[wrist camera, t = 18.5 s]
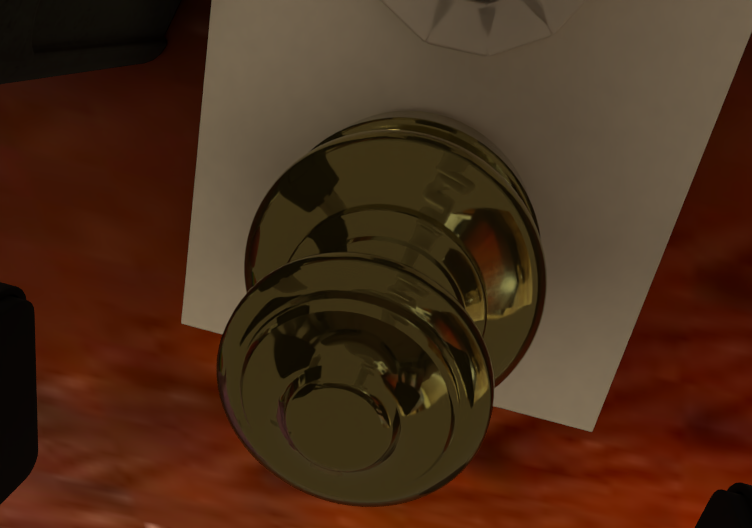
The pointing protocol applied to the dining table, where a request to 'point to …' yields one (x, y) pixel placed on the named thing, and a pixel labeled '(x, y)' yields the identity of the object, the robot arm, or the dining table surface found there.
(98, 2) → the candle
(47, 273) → the dining table surface
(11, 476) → the robot arm
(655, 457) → the dining table surface
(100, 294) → the dining table surface
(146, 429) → the dining table surface
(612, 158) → the white base plate
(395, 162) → the brass cabinet knob
